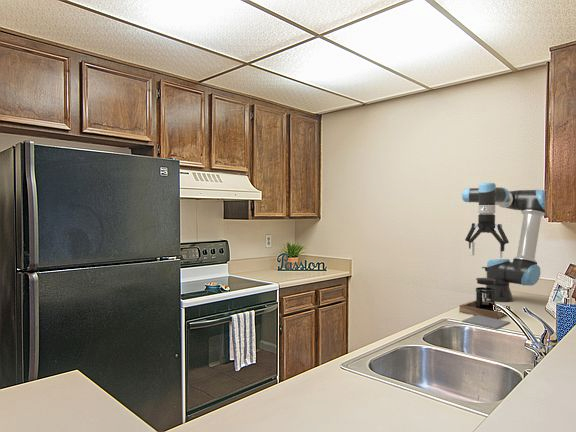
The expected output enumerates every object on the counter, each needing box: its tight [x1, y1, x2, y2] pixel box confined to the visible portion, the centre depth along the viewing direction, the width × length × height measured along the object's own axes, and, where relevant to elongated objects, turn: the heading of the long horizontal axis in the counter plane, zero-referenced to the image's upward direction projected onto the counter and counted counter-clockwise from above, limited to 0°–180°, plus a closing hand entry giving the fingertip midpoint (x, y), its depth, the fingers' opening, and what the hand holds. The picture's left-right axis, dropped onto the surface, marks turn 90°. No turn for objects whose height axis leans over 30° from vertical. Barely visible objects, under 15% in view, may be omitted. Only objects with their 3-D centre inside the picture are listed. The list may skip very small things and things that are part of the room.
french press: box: [475, 266, 496, 311], centre depth 206 cm, size 12×9×23 cm
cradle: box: [459, 299, 511, 319], centre depth 206 cm, size 17×17×4 cm
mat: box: [461, 315, 511, 330], centre depth 189 cm, size 15×15×1 cm
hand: (486, 256), depth 205 cm, fingers open, 13 cm apart
